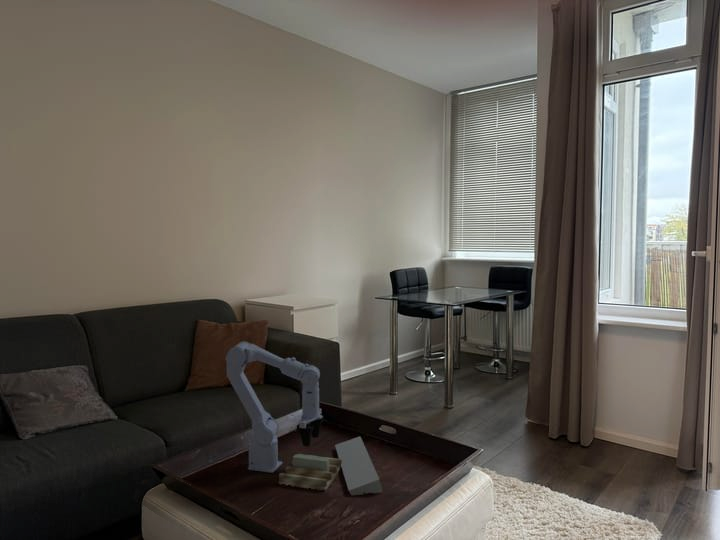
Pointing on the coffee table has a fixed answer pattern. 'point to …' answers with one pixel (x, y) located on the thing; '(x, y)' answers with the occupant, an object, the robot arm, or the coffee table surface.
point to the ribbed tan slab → (311, 475)
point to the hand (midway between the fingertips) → (310, 441)
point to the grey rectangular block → (358, 467)
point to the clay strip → (311, 462)
